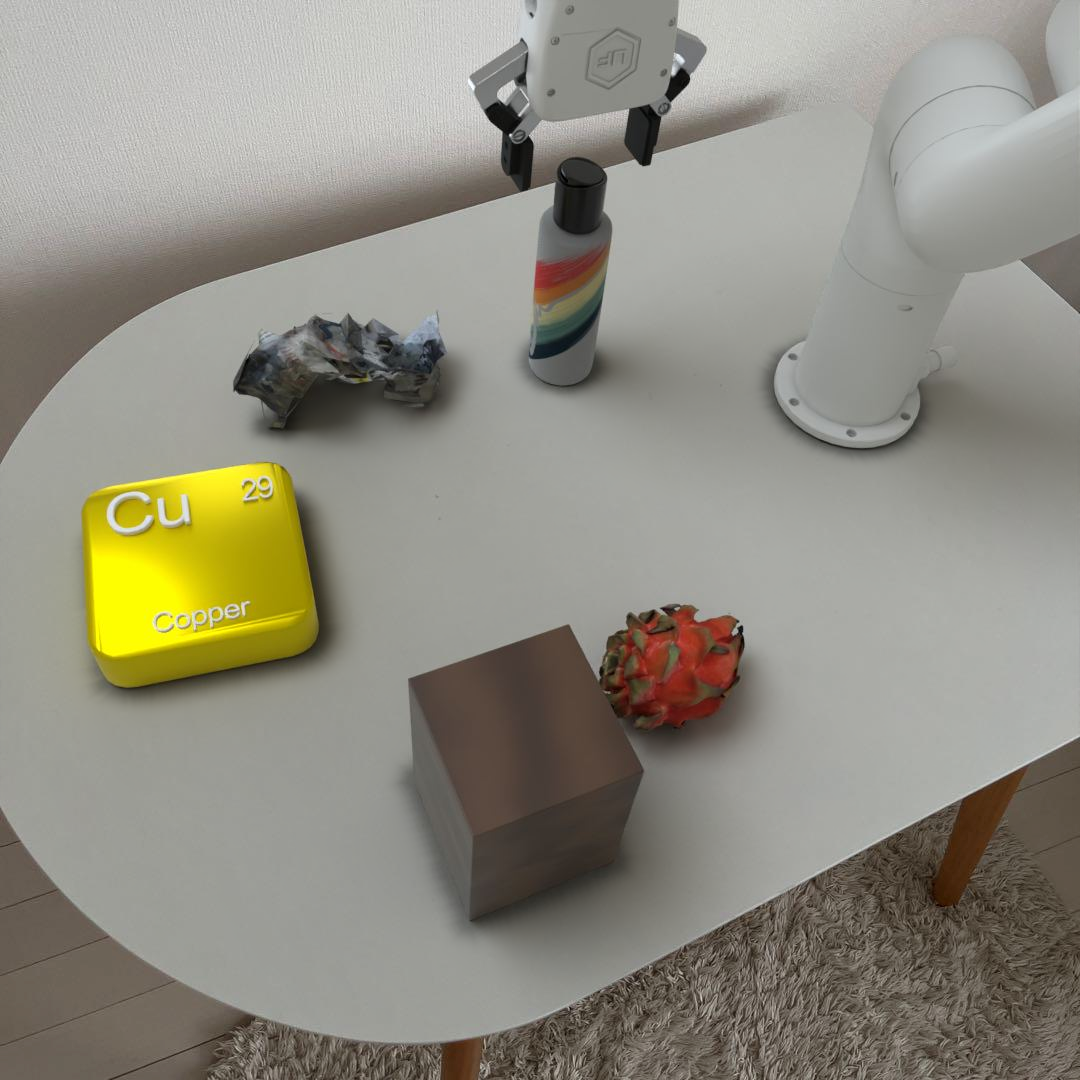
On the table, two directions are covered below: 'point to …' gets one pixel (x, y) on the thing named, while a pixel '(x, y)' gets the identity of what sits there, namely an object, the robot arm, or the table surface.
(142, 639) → the element tile
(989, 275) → the table surface
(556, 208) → the lotion bottle
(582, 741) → the block
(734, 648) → the dragon fruit
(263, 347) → the foil
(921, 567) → the table surface
